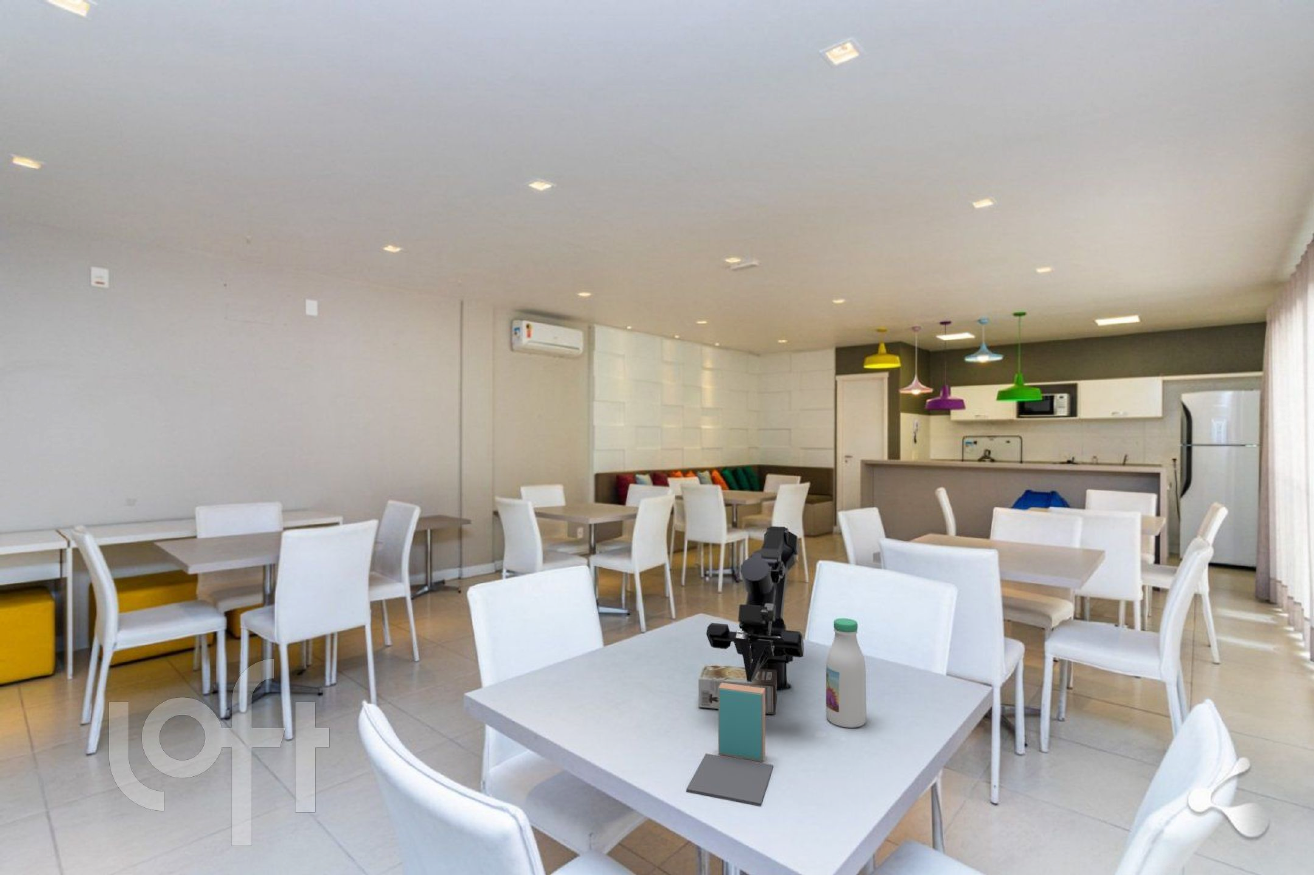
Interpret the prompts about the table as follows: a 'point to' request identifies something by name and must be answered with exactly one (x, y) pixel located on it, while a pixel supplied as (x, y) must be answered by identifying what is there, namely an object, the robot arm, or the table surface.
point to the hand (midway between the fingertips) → (749, 680)
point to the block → (741, 721)
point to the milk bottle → (845, 677)
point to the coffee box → (736, 675)
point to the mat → (731, 779)
